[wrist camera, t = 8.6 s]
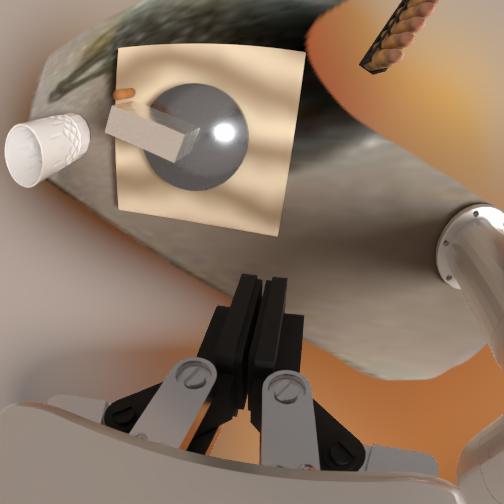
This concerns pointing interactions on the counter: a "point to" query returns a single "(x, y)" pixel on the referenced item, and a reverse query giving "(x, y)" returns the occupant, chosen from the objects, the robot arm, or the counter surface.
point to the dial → (186, 134)
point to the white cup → (45, 147)
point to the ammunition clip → (397, 34)
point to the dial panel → (257, 116)
